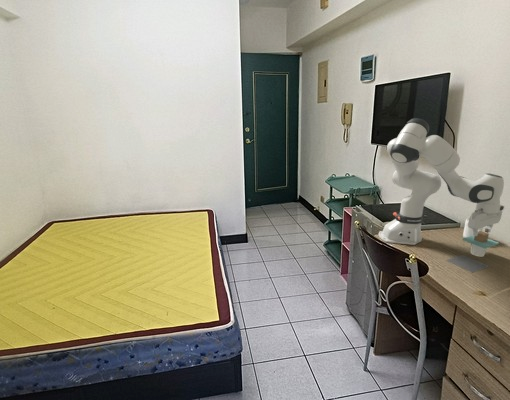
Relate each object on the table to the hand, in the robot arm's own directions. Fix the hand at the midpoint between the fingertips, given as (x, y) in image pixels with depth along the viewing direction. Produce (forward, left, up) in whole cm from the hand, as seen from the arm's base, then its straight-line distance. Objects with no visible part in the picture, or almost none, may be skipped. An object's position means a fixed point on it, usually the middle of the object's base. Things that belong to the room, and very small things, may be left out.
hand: (481, 233), depth 159 cm
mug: (+8, +19, -12) cm, 23 cm away
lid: (0, 0, -4) cm, 4 cm away
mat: (-10, -10, -11) cm, 18 cm away
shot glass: (0, 0, -12) cm, 12 cm away
